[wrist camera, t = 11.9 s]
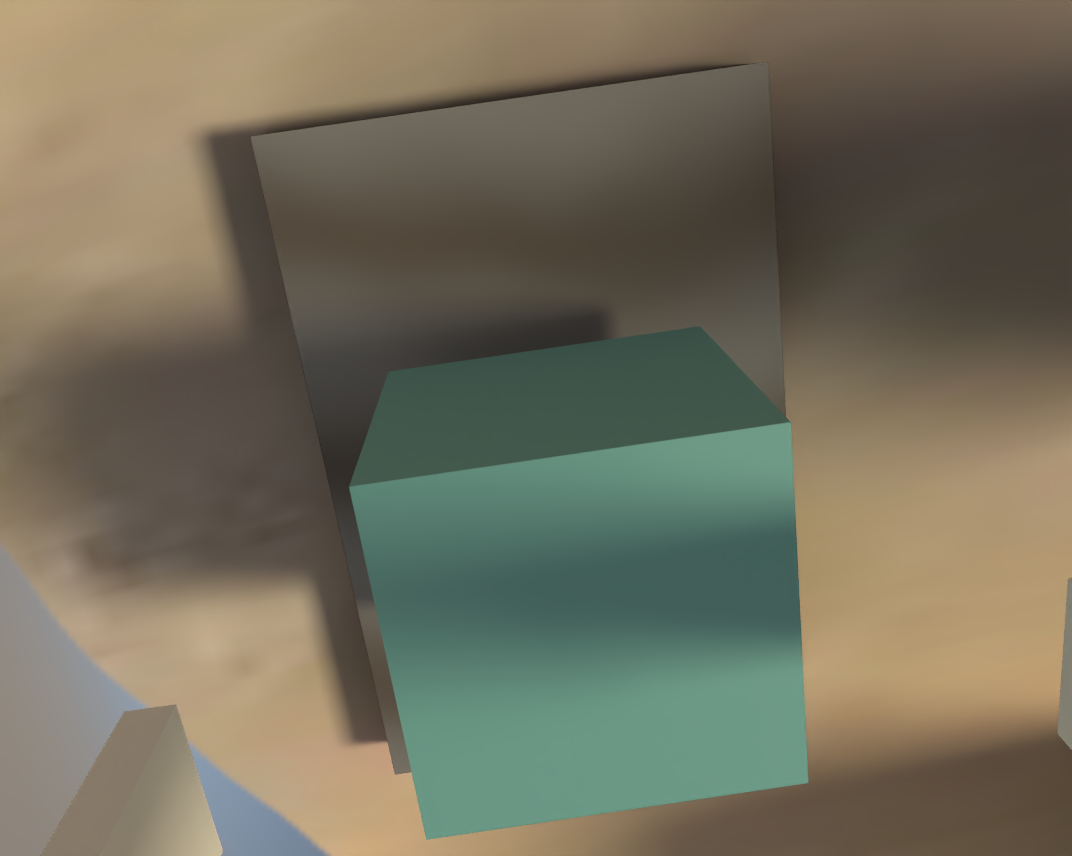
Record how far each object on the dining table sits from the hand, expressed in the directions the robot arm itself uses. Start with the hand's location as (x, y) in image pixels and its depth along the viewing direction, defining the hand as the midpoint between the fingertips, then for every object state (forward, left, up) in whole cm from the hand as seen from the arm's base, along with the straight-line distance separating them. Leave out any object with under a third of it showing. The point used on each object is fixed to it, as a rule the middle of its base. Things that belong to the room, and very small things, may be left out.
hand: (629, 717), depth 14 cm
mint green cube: (0, 0, -9) cm, 9 cm away
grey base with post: (0, 0, -13) cm, 13 cm away
